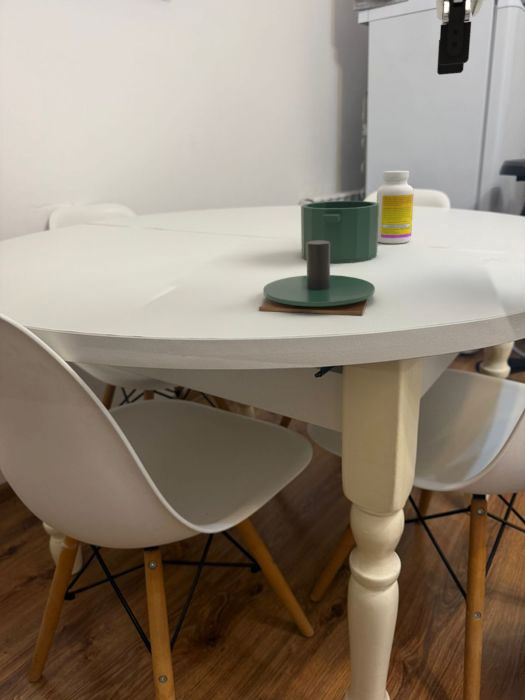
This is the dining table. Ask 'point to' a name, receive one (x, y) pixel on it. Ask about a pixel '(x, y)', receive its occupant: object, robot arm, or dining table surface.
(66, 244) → the dining table surface
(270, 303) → the plate
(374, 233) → the pot
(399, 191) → the supplement bottle
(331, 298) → the pot lid
